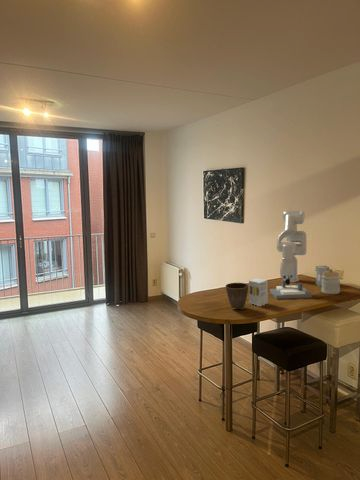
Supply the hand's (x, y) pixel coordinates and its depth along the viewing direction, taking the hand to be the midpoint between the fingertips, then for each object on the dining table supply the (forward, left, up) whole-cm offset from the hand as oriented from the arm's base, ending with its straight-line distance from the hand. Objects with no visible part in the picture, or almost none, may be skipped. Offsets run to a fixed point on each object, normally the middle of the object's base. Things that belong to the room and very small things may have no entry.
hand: (287, 284), depth 270 cm
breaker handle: (+10, +6, -2) cm, 12 cm away
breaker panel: (+5, 0, -7) cm, 8 cm away
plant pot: (+31, -44, -7) cm, 54 cm away
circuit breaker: (-17, +36, -7) cm, 41 cm away
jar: (+3, +31, -7) cm, 32 cm away
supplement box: (+23, -28, -7) cm, 37 cm away
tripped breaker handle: (0, -3, -2) cm, 4 cm away
